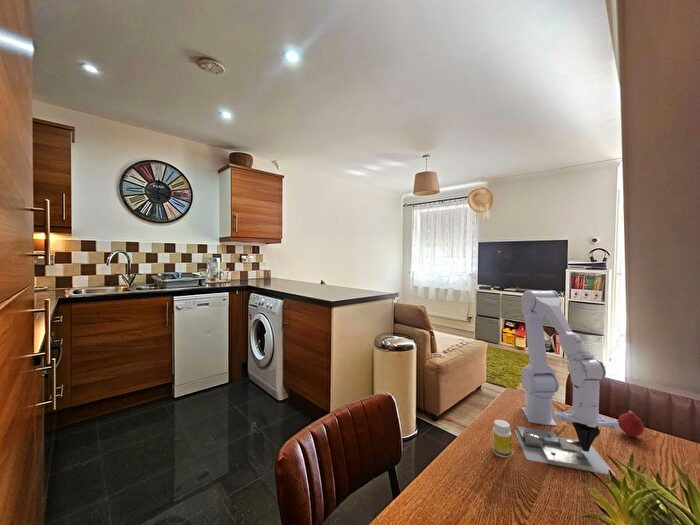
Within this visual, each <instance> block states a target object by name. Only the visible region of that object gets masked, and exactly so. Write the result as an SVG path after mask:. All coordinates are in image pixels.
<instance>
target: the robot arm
mask: <svg viewBox="0 0 700 525" xmlns="http://www.w3.org/2000/svg"><path fill="white" fill-rule="evenodd" d="M520 302H521V303H520V304H521V311H522V314H523V317H524V324H525V334H526V342H527V352H528V360H529V363H528V364H527V365H525V366H524V367H522V369H521V371H522V372H521V373H522V374H521V385H522V387H523V389H524V390H525V395H524V407H521V410H522V409H523V410H522V411H523V413H524V415H525V417H526V419H527V420H528V422H529V423H533V424H538V425H539V424H540V425H545V426H554V427H557V422H567V423H571V424H572V426H573V428H574V430H575V432H576V436H577V438H578V439H577V440H579V442H580V444H581V446H582V450H583V451H586V452H589V449H590V447H591V445H592V444H593V443H594V440H596V438H597V437H598V436H599V435H600V434H601V430H600V429H599V428H598V427H601V428H609V429H613V430H615V431H619V428H620V426H619V423H618V420H616V419H614V418H609V417H604V416H601V415H599V414H600V413H599V412H600V409H599V408H600V405H599V404H600V381H603V380H604V379H605V377H606V374H607V372H606V371H607V370H606V368H605V366H604V363H603V362H602V361H601V360H600V359H599V358H598V357H596V356H595V355H593V354H591V353H590V351H589V349H588V347H587V346H586V344H585V343H584V340H583V339H582V338H581V336H580V335H579V334H578V333H576V332H573V330H572V328H571V326H570V324H569V322H568V321H567V319H566V317H565V314H564V312H563V310H562V308H561V307H562V299H561V298H560V295H559V293H558V292H557V291H556V290H525V291H524V292H523V294H522V295H521V297H520ZM545 316H546V317H547V319H548V320H549V322H550V323H551V325H552V327H553V328H554V329H555V331H556V333H557V334H558V335H559V338H558V341H557V342H558V344H559V346H560V347H561V350H562V352H563V353H564V355H565V357H566V359H567V361H568V362H569V363H568V364H567V370H568V372H569V375H570V381H571V384H572V406H571V407H572V408H571V409H572V411H555V410H554V411H553V396H554V397H555V393H557V392H558V391H559V389H560V381H559V380H558V377H557V374H556V370H555V369H554V368H552V366H550V365H549V364H548V357H547V348H546V340H545V339H546V338H545V331H544V326H543V318H544V317H545Z"/></svg>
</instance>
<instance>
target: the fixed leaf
mask: <svg viewBox="0 0 700 525" xmlns="http://www.w3.org/2000/svg"><path fill="white" fill-rule="evenodd" d="M516 428H517V429H516V431H518V432H519V435H520V437H521V440H522V441H523V442H524V444H525V445H527V446H533V447H539V448H541V447H545V444H547V445H553V446H559V444H558V438H557V437H558V436H557V434H556V433H555V432H554V431H549V430H544V429H538V428H529V427H525V426H517V427H516Z"/></svg>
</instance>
